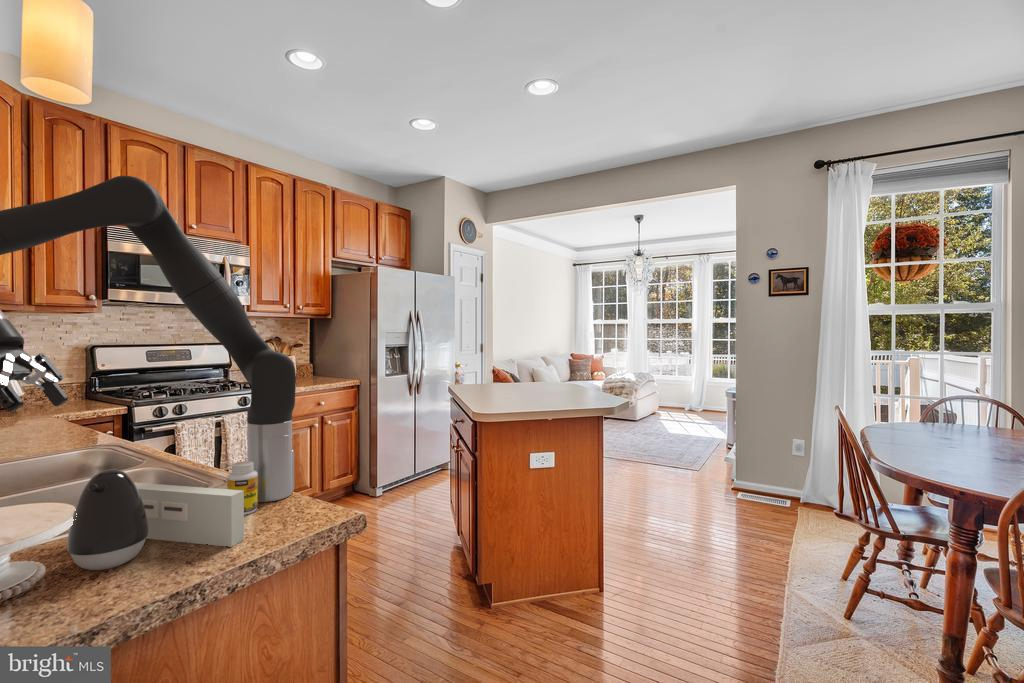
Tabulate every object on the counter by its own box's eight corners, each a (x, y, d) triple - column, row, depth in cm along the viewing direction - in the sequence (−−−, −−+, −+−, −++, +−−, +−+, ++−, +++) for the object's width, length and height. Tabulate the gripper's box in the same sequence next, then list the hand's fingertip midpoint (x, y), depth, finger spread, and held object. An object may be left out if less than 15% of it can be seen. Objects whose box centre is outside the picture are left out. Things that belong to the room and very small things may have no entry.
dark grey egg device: (50, 583, 73) (49, 482, 73) (89, 552, 83) (88, 463, 83) (131, 574, 76) (130, 476, 76) (158, 545, 86) (158, 459, 86)
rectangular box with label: (123, 528, 93) (122, 481, 93) (243, 539, 89) (243, 490, 89) (105, 535, 90) (104, 487, 90) (229, 548, 85) (229, 496, 85)
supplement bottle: (231, 519, 98) (231, 468, 98) (224, 511, 102) (223, 463, 102) (261, 512, 102) (261, 463, 102) (253, 505, 106) (252, 458, 106)
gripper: (-45, 312, 76) (20, 395, 76) (37, 319, 90) (92, 389, 90) (-88, 342, 75) (-21, 425, 76) (2, 344, 89) (57, 414, 90)
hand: (40, 405), depth 83 cm, fingers open, 8 cm apart
